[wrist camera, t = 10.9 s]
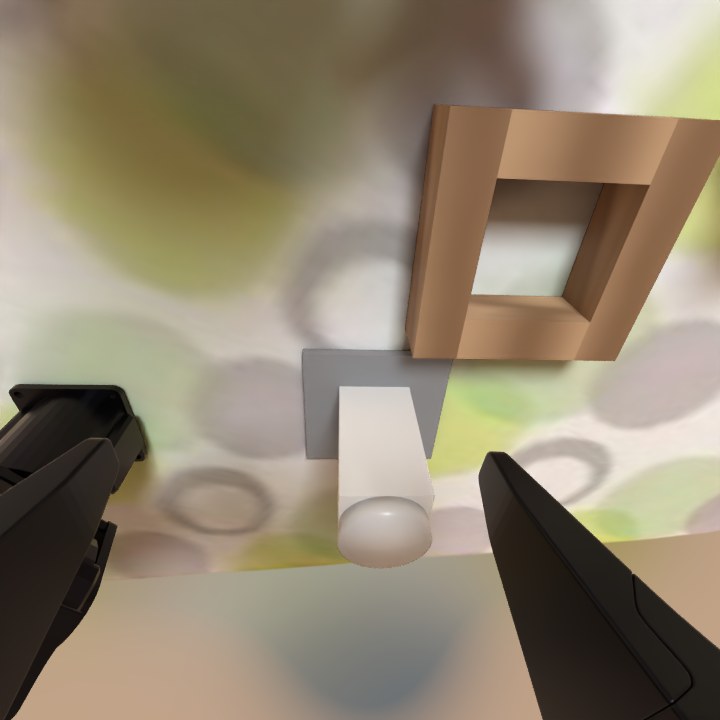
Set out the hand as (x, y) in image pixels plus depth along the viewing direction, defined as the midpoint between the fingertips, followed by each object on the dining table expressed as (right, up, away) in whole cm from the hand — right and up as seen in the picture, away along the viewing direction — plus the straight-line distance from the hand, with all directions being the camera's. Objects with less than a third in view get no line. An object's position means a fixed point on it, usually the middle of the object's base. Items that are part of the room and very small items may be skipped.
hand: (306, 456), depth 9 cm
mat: (+2, -1, +17) cm, 17 cm away
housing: (+10, +9, +10) cm, 17 cm away
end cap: (+2, -1, +16) cm, 16 cm away
